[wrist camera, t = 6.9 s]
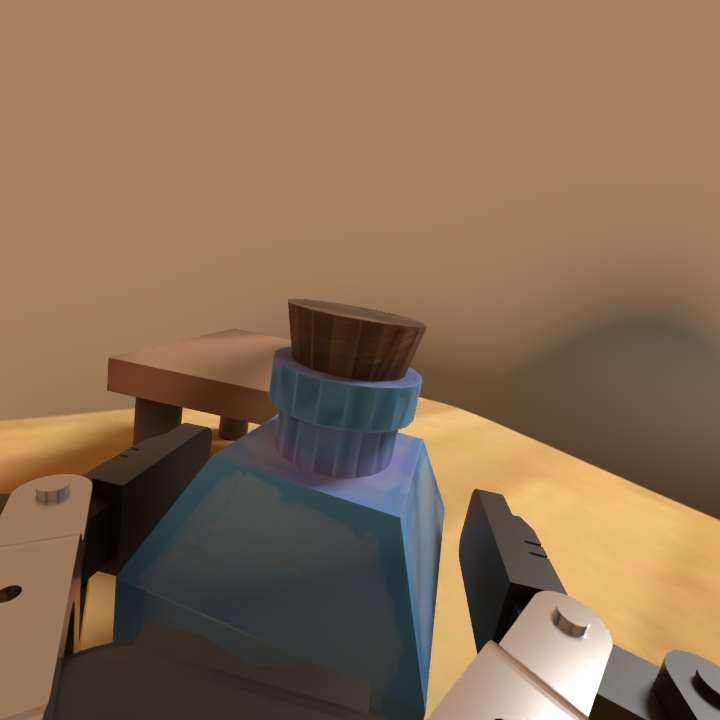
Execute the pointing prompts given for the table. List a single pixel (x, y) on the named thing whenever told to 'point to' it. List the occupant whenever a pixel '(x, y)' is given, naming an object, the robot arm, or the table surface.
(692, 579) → the table surface
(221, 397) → the brown legged piece
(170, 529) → the perfume bottle
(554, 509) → the table surface
